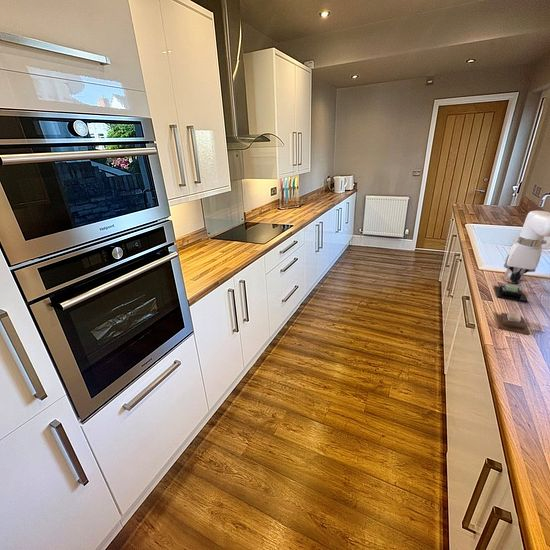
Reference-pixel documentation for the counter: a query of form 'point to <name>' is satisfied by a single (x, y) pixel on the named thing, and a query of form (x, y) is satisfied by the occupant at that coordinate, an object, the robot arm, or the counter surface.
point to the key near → (513, 317)
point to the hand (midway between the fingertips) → (513, 281)
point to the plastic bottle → (509, 275)
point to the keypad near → (511, 324)
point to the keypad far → (509, 294)
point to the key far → (511, 288)
